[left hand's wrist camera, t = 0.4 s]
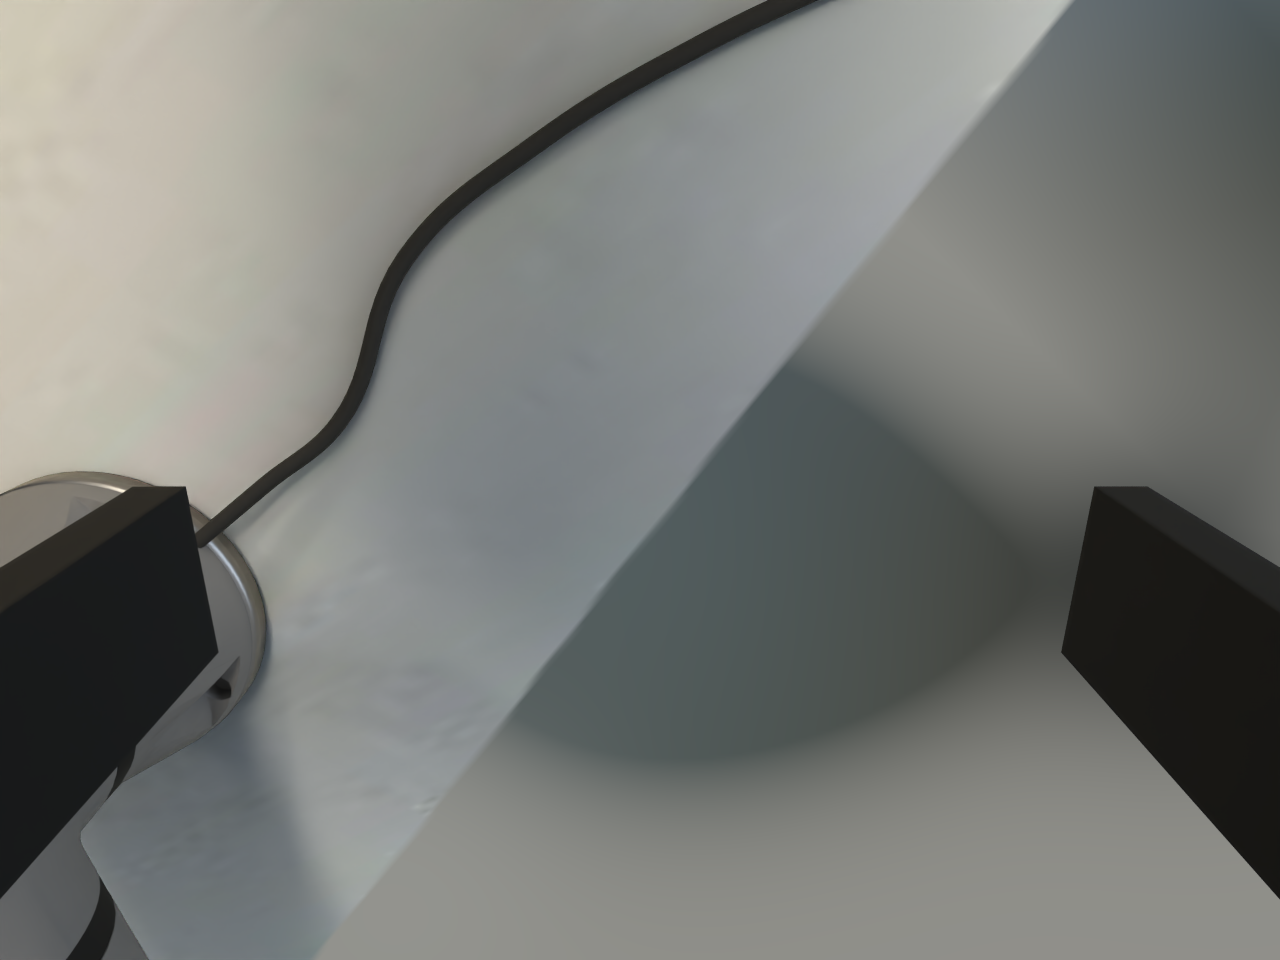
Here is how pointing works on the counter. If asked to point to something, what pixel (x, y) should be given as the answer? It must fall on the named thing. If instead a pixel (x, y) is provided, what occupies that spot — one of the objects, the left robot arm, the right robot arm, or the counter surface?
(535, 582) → the counter surface
